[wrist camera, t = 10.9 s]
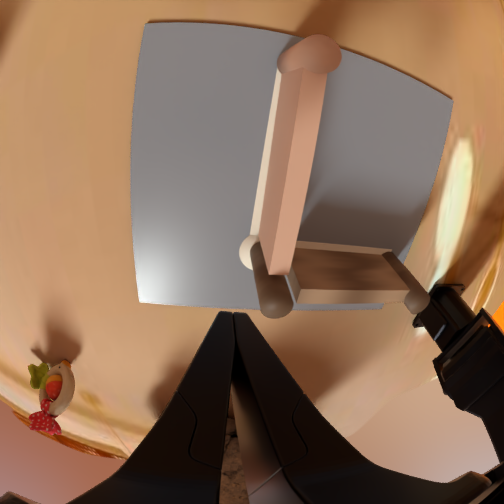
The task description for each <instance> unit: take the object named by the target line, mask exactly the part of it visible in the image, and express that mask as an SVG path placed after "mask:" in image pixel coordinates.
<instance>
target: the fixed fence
mask: <svg viewBox="0 0 504 504" xmlns="http://www.w3.org/2000/svg"><path fill="white" fill-rule="evenodd" d="M250 258H251V263H252V268H253V273H254V279H255V284H256V289H257V294H258V299H259V305H260V310H261V313H262V314H263V315H264V316H266V317H268V318H273V319H275V318H281V317H284V316H286V315H287V314H288V313H290V312H291V310H292V309H293V306H294V302H293V299H292V296H291V293H290V290H289V287H288V284H287V281H286V278H285V275H269V273H268V270H267V266H266V262H265V258H264V255H263V251H262V247H261V244H260V241H259V242H257V243H255V244H254V245H253V246H252V247H251V249H250ZM287 278H288V281H289V283H290V286H291V289H292V292H293V295H294V298H295V301H296V304H365V303H401V302H404V304H405V305H406V307H407V308H408V310H409V311H410V312H411V313H412V314H417V313H419V312H421V311H423V310H424V309H425V308H426V307H427V305H428V304H429V302H430V296H429V294H428V293H427V292H426V291H425V289H424V288H423V287H422V286H421V285H420V283H419V282H418V281H417V280H416V279H415V277H414V276H413V275H412V274H411V273H410V272H409V270H408V269H407V268H406V267H405V266H404V265H403V264H402V262H401V261H400V260H399V259H398V258H397V257H396V256H395V255H394V253H393V252H390V251H388V252H385V253H383V254H382V255H379V254H367V253H355V252H343V251H330V250H317V249H305V248H295V250H294V254H293V259H292V263H291V267H290V271H289V275H287Z"/></svg>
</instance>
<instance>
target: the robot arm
mask: <svg viewBox="0 0 504 504" xmlns="http://www.w3.org/2000/svg"><path fill="white" fill-rule="evenodd" d="M464 289H465V286H464V285H463V284H437V285H435V286H434V287H433V289H432V291H431V293H430V295H429V296H430V302H429V304H428V305H427V307H426V308H425V309H424V310H423V311H421V312H419V314H418V315H417V317H416V319H415V320H414V322H413V324H412V325H413V327H414V328H417V327H425V329H426V330H427V332H428V333H429V335H430V336H431V338H432V339H433V340H434V341H435V342H436V343H437V345H438V347H439V348H440V350H441V351H442V353H441V354H440V355H439V356H438V357H437V358H435V359H434V360H433V364H434V368H435V371H436V373H437V376H438V378H439V381H440V384H441V386H442V389H443V393H444V394H445V395H448V396H449V397H450V398H451V399H452V400H454V403H455V405H456V407H457V408H459V409H460V410H462V411H467V412H469V413H471V414H473V415H475V416H477V417H480V418H481V419H482V421H483V423H484V425H485V427H486V430H487V432H488V434H489V436H490V439H491V441H492V444H493V446H494V449H495V451H496V454H497V457H498V459H499V462H500V464H498V465H497V466H495V467H494V468H492V469H490V470H489V471H487V472H486V473H484V474H479V473H476V472H472V471H470V472H467V473H465V474H463V475H461V476H459V477H458V478H456V479H454V480H452V481H450V482H448V483H439V482H433V481H429V480H424V479H421V478H417V477H413V476H409V475H406V474H402V473H399V472H396V471H392V470H389V469H386V468H383V467H380V466H378V465H376V464H374V463H373V462H371V461H370V460H368V459H367V458H365V457H364V456H363V455H361V453H360V452H359V451H358V450H356V449H355V448H354V447H353V446H352V445H351V444H350V443H349V442H348V441H347V440H346V439H345V438H344V437H343V436H342V435H341V434H340V433H339V432H338V431H337V430H336V429H335V428H334V427H333V426H332V425H331V424H330V423H329V422H328V421H327V420H326V419H325V418H324V417H323V416H322V415H321V413H320V412H319V411H318V410H317V408H316V407H315V406H314V405H313V404H312V402H311V401H310V400H309V398H308V397H307V396H306V394H303V390H302V389H301V388H300V386H299V385H298V384H297V382H296V381H295V380H294V378H293V377H292V376H291V374H290V373H289V372H288V370H287V369H286V368H285V366H284V365H283V364H282V362H281V361H280V359H279V358H278V357H277V355H276V354H275V353H274V351H273V350H272V348H271V347H270V346H269V344H268V343H267V341H266V340H265V339H264V337H263V336H262V334H261V333H260V332H259V330H258V329H257V327H256V326H255V324H254V323H253V322H252V320H251V319H250V317H249V316H248V315H247V314H246V313H241V312H234V313H233V314H232V312H227V311H220V312H219V313H218V314H217V316H216V318H215V320H214V321H213V323H212V325H211V327H210V329H209V331H208V332H207V334H206V336H205V338H204V340H203V342H202V343H201V345H200V347H199V349H198V351H197V353H196V354H195V356H194V358H193V360H192V362H191V363H190V365H189V367H188V369H187V371H186V373H185V374H184V376H183V378H182V380H181V382H180V384H179V385H178V387H177V389H176V391H175V392H174V394H173V396H172V398H171V400H170V401H169V403H168V405H167V406H166V408H165V410H164V411H163V413H162V415H161V416H160V418H159V419H158V420H157V422H156V423H155V425H154V426H153V427H152V429H151V430H150V431H149V433H148V434H147V435H146V437H145V438H144V439H143V440H142V442H141V443H140V444H139V445H138V447H137V448H136V449H135V450H134V452H133V453H132V454H131V456H130V457H129V458H128V459H127V460H126V462H125V463H124V464H123V465H122V466H121V467H120V468H119V469H118V470H117V471H116V472H115V473H114V474H113V475H112V476H110V477H109V478H107V479H106V480H104V481H103V482H101V483H100V484H98V485H96V486H95V487H94V488H92V489H90V490H88V491H87V492H85V493H84V494H82V495H80V496H79V497H77V498H75V499H73V500H72V501H70V502H68V503H66V504H219V501H220V485H221V474H222V472H221V470H222V464H223V454H224V445H225V436H226V426H227V417H228V408H229V399H230V390H231V396H232V403H233V410H234V416H235V423H236V429H237V435H238V442H239V448H240V454H241V459H242V465H243V471H244V476H245V482H246V487H247V493H248V496H249V497H248V498H249V503H250V504H504V332H503V330H502V329H501V327H500V326H499V325H498V323H497V322H496V321H495V320H494V319H493V317H492V316H491V315H490V314H489V313H488V312H487V311H486V310H485V309H484V308H481V310H480V312H479V313H478V314H477V315H475V313H474V312H473V311H472V310H471V308H470V307H469V306H468V305H467V304H466V302H465V301H464V300H463V299H462V298H461V297H460V296H461V294H462V293H463V291H464ZM489 324H490V326H489V327H488V325H489ZM0 504H40V503H37V502H35V501H32V500H30V499H27V498H25V497H23V496H20V495H18V494H15V493H13V492H6V493H5V494H4V495H3V496H2V497H0Z"/></svg>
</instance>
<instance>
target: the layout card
mask: <svg viewBox="0 0 504 504" xmlns="http://www.w3.org/2000/svg"><path fill="white" fill-rule="evenodd" d="M303 39H305V38H302V37H298V36H293V35H289V34H284V33H279V32H274V31H269V30H263V29H256V28H250V27H242V26H233V25H223V24H210V23H182V22H174V23H146V24H145V26H144V31H143V37H142V42H141V48H140V55H139V61H138V68H137V76H136V85H135V94H134V105H133V118H132V135H131V217H132V235H133V248H134V260H135V270H136V279H137V287H138V295H139V302H143V303H154V304H166V305H179V306H194V307H210V308H230V309H256V310H260V305H259V299H258V294H257V289H256V284H255V279H254V273H253V268H252V263H251V258H250V249H251V247H252V246H253V245H254V244H255V243H257V242H259V241H260V240H259V236H258V234H259V227H260V221H261V214H262V207H263V200H264V193H265V186H266V179H267V173H268V166H269V159H270V152H271V145H272V138H273V131H274V124H275V117H276V110H277V103H278V96H279V89H280V82H281V75H282V74H281V73H280V72H279V70H278V68H277V59H278V57H279V56H280V55H281V54H282V53H283V52H285V51H286V50H288V49H289V48H291V47H292V46H294V45H295V44H297V43H298V42H300V41H302V40H303ZM340 50H341V54H342V59H341V63H340V65H339V66H338V68H337V69H335V70H334V71H332V72H329V73H327V80H326V86H325V93H324V99H323V105H322V112H321V118H320V124H319V129H318V135H317V141H316V146H315V152H314V157H313V163H312V168H311V173H310V178H309V183H308V188H307V193H306V198H305V203H304V208H303V213H302V218H301V222H300V227H299V232H298V236H297V241H296V245H295V248H305V249H317V250H330V251H343V252H355V253H367V254H379V255H382V254H383V253H385V252H388V251H390V252H393V253H394V255H395V256H396V257H397V258H398V259H399V260H400V261H401V262H402V264H403V263H404V261H405V259H406V256H407V254H408V252H409V249H410V247H411V245H412V242H413V240H414V237H415V235H416V232H417V230H418V227H419V225H420V222H421V219H422V216H423V214H424V211H425V208H426V205H427V202H428V199H429V196H430V193H431V190H432V187H433V184H434V181H435V178H436V174H437V171H438V167H439V164H440V160H441V156H442V153H443V149H444V145H445V140H446V136H447V132H448V127H449V122H450V118H451V112H452V107H453V100H451V99H449V98H448V97H446V96H445V95H443V94H441V93H439V92H438V91H436V90H434V89H432V88H431V87H429V86H427V85H425V84H423V83H421V82H419V81H417V80H415V79H413V78H411V77H409V76H407V75H405V74H403V73H401V72H399V71H397V70H395V69H392V68H390V67H388V66H386V65H383V64H381V63H378V62H376V61H374V60H371V59H369V58H366V57H363V56H361V55H358V54H355V53H352V52H349V51H347V50H344V49H341V48H340ZM285 278H286V281H287V284H288V287H289V290H290V293H291V296H292V299H293V302H294V306H293V309H292V310H368V309H382V307H383V305H384V303H365V304H296V301H295V298H294V295H293V292H292V289H291V286H290V283H289V281H288V278H287V275H285Z"/></svg>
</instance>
